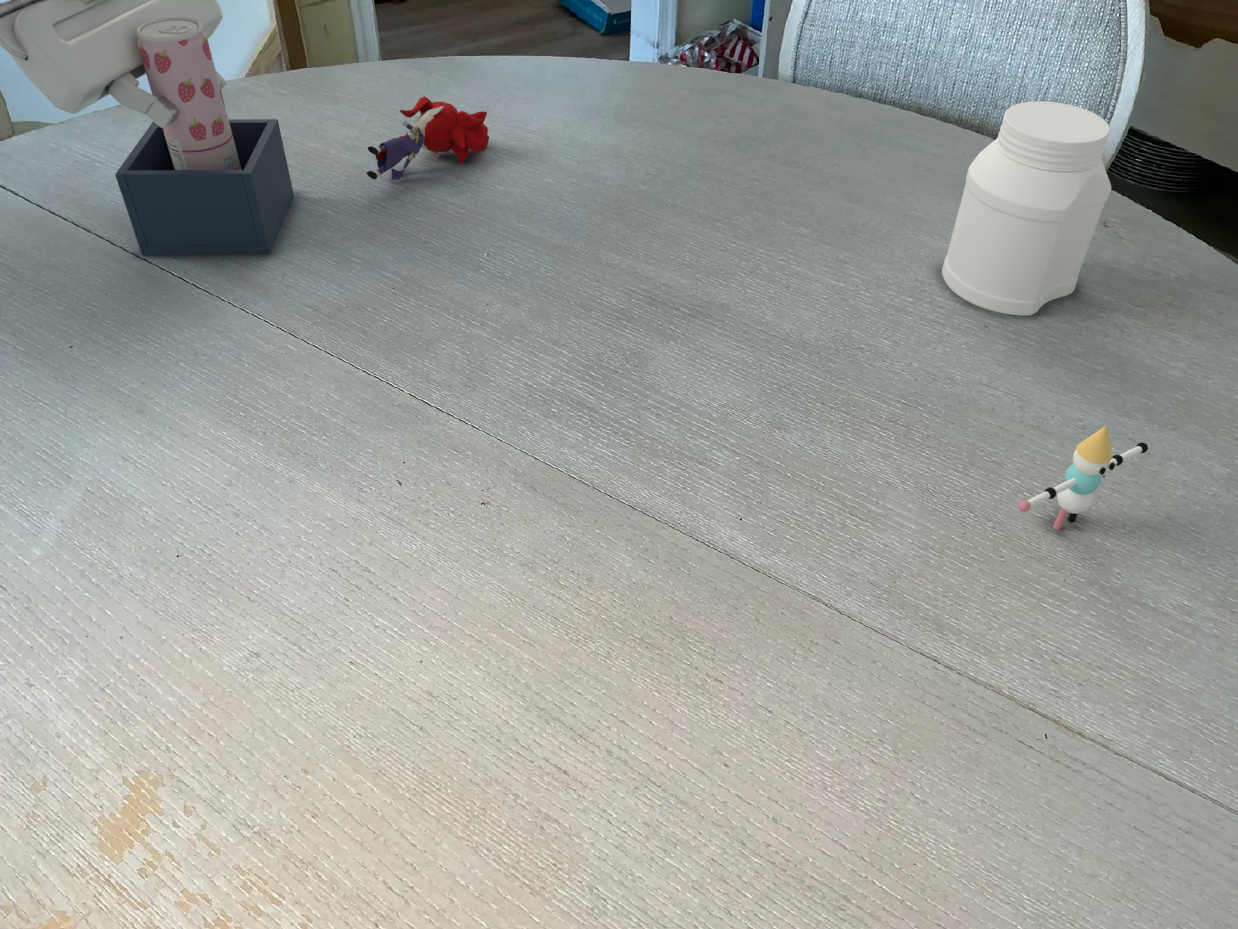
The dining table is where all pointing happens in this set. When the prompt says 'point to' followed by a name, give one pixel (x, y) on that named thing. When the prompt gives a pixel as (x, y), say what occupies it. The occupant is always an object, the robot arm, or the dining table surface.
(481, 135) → the figurine
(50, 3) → the robot arm
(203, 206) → the bin
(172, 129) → the beverage can
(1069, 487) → the toy figure
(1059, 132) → the jar
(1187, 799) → the dining table surface
